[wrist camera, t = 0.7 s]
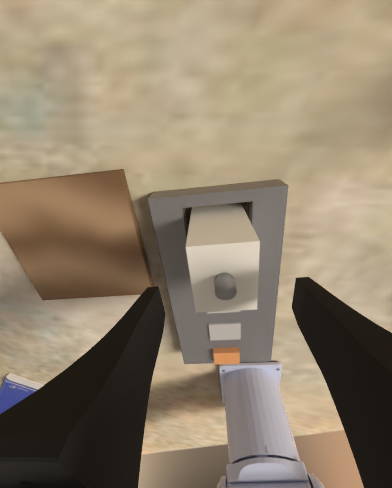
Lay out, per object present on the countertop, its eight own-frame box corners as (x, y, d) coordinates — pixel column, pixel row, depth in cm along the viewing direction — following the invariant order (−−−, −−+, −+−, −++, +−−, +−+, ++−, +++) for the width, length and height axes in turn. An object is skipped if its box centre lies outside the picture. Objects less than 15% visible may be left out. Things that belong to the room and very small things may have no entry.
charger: (240, 253, 20) (260, 321, 13) (198, 256, 20) (195, 324, 13) (240, 201, 17) (264, 250, 10) (192, 206, 18) (183, 256, 11)
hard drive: (2, 380, 30) (-10, 413, 35) (59, 399, 32) (39, 427, 37) (11, 369, 31) (-2, 402, 36) (65, 387, 33) (45, 416, 38)
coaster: (154, 288, 22) (152, 293, 21) (47, 294, 23) (42, 300, 22) (123, 169, 16) (119, 170, 16) (-17, 184, 17) (-26, 187, 17)
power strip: (266, 345, 26) (272, 366, 23) (185, 348, 27) (184, 369, 24) (279, 179, 16) (291, 187, 14) (153, 192, 17) (145, 201, 15)
